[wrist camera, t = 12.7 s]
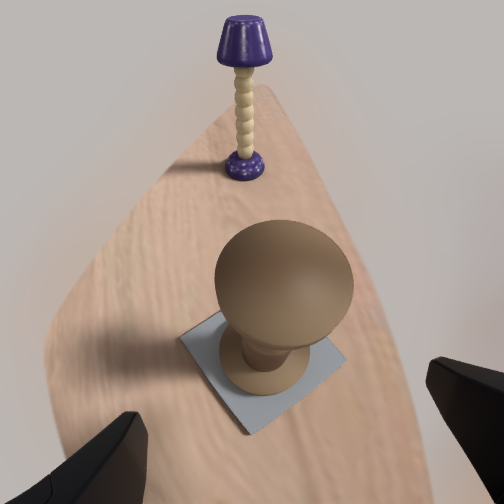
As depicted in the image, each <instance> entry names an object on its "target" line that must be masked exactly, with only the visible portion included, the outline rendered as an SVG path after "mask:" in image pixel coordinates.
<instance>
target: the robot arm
mask: <svg viewBox="0 0 504 504" xmlns="http://www.w3.org/2000/svg"><path fill="white" fill-rule="evenodd" d="M426 386H427V388H428V390H429V392H430V394H431V396H432V398H433V400H434V402H435V404H436V406H437V407H438V409H439V411H440V414H441V415H442V417H443V419H444V421H445V422H446V424H447V426H448V427H449V429H450V430H451V432H452V433H453V435H454V436H455V438H456V439H457V441H458V443H459V444H460V446H461V447H462V449H463V451H464V452H465V454H466V455H467V457H468V459H469V460H470V462H471V464H472V465H473V467H474V469H475V470H476V472H477V474H478V475H479V477H480V479H481V480H482V482H483V484H484V485H485V487H486V489H487V491H488V492H489V494H490V496H491V498H492V500H493V501H494V503H496V504H504V373H503V372H499V371H495V370H491V369H487V368H483V367H479V366H475V365H471V364H468V363H464V362H460V361H456V360H453V359H449V358H446V357H438V358H435V359H433V360H431V361H430V363H429V367H428V372H427V376H426ZM147 448H148V433H147V430H146V427H145V425H144V423H143V421H142V418H141V416H140V414H139V413H138V412H135V411H126V412H124V413H122V414H121V415H120V416H119V417H118V418H116V419H115V420H114V421H113V422H112V423H111V424H109V425H108V426H107V427H106V428H105V429H103V430H102V431H101V432H100V433H99V434H97V435H96V436H95V437H94V438H93V439H91V440H90V441H89V442H88V443H87V444H85V445H84V446H83V447H82V448H81V449H79V450H78V451H77V452H76V453H75V454H73V455H72V456H71V457H70V458H68V459H67V460H66V461H65V462H63V463H62V464H61V465H60V466H58V467H57V468H56V469H55V470H53V471H52V472H51V473H50V474H48V475H47V476H46V477H44V478H43V479H42V480H41V481H40V482H38V483H37V484H35V485H34V486H32V487H31V488H30V489H28V490H27V491H25V492H23V493H22V494H20V495H19V496H17V497H16V498H14V499H12V500H10V501H8V502H7V503H5V504H142V503H143V496H144V490H145V483H146V472H147Z"/></svg>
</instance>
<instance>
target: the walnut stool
mask: <svg viewBox="0 0 504 504" xmlns="http://www.w3.org/2000/svg"><path fill="white" fill-rule="evenodd" d="M215 289H216V295H217V299H218V304H219V307H220V309H221V312H222V314H223V315H224V317H225V319H226V320H227V322H228V323H229V325H228V326H227V327H226V329H225V330H224V332H223V334H222V337H221V340H220V345H219V357H220V361H221V365H222V368H223V370H224V372H225V374H226V376H227V377H228V378H229V380H230V381H231V382H232V383H233V384H234V385H235V386H237V387H238V388H239V389H241V390H243V391H245V392H247V393H250V394H253V395H259V396H269V395H275V394H278V393H281V392H283V391H285V390H287V389H289V388H290V387H291V386H293V385H294V384H295V383H296V382H297V381H298V380H299V379H300V378H301V377H302V376H303V374H304V372H305V371H306V369H307V366H308V363H309V359H310V346H311V345H313V344H315V343H317V342H319V341H321V340H322V339H324V338H325V337H326V336H327V335H329V334H330V333H331V332H332V331H333V330H334V328H335V327H336V326H337V325H338V324H339V323H340V322H341V320H342V319H343V318H344V316H345V315H346V313H347V311H348V309H349V307H350V304H351V301H352V297H353V290H354V283H353V275H352V271H351V267H350V264H349V262H348V260H347V258H346V256H345V255H344V253H343V251H342V250H341V249H340V248H339V246H338V245H337V244H336V243H335V242H334V241H333V240H332V239H331V238H330V237H328V236H327V235H326V234H324V233H323V232H321V231H319V230H318V229H316V228H314V227H312V226H309V225H306V224H304V223H300V222H296V221H289V220H271V221H265V222H261V223H257V224H254V225H252V226H250V227H247V228H246V229H244V230H242V231H240V232H239V233H238V234H236V235H235V236H234V237H233V238H232V239H231V240H230V241H229V242H228V243H227V244H226V246H225V247H224V249H223V250H222V252H221V254H220V256H219V258H218V261H217V264H216V268H215Z"/></svg>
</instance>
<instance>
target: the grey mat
mask: <svg viewBox="0 0 504 504" xmlns="http://www.w3.org/2000/svg"><path fill="white" fill-rule="evenodd" d="M228 325H229V323H228V322H227V320H226V319H225V317H224V315H223V314H222V312H221V311H220V312H218V313H217V314H215V315H214V316H212V317H211V318H209V319H208V320H206V321H205V322H203V323H201V324H200V325H198V326H197V327H195V328H194V329H192V330H190V331H189V332H187V333H186V334H184V335H183V336H181V337H180V339H181V340H182V342H183V343H184V345H185V346H186V348H187V349H188V351H189V352H190V354H191V355H192V357H193V358H194V360H195V361H196V362H197V364H198V365H199V367H200V368H201V370H202V371H203V373H204V374H205V375H206V377H207V378H208V380H209V381H210V382H211V384H212V385H213V386H214V388H215V389H216V391H217V392H218V393H219V395H220V396H221V397H222V399H223V400H224V401H225V403H226V404H227V405H228V407H229V408H230V409H231V410H232V412H233V413H234V414H235V416H236V417H237V418H238V419H239V421H240V422H241V423H242V425H243V426H244V427H245V428H246V429H247V431H248V432H249V433H250V434H251V435H253V434H254V433H256V432H257V431H259V430H260V429H262V428H263V427H264V426H266V425H267V424H269V423H270V422H271V421H273V420H274V419H276V418H277V417H278V416H280V415H281V414H282V413H284V412H285V411H286V410H288V409H289V408H290V407H292V406H293V405H294V404H296V403H297V402H298V401H299V400H301V399H302V398H303V397H304V396H306V395H307V394H308V393H309V392H311V391H312V390H313V389H314V388H316V387H317V386H318V385H319V384H320V383H322V382H323V381H324V380H325V379H326V378H328V377H329V376H330V375H331V374H332V373H333V372H334V371H336V370H337V369H338V368H339V367H340V366H341V365H342V364H344V363H345V362H346V361H347V359H346V358H345V357H344V355H343V354H342V353H341V352H340V351H339V350H338V349H337V347H336V346H335V345H334V344H333V343H332V342H331V340H330V339H329V338H328V337H327V336H326V337H325V338H324V339H322V340H321V341H319V342H317V343H315V344H313V345H311V346H310V359H309V363H308V366H307V369H306V371H305V372H304V374H303V376H302V377H301V378H300V379H299V380H298V381H297V382H296V383H295V384H294V385H293V386H291V387H290V388H289V389H287V390H285V391H283V392H281V393H278V394H275V395H269V396H259V395H253V394H250V393H247V392H245V391H243V390H241V389H239V388H238V387H237V386H235V385H234V384H233V383H232V382H231V381H230V380H229V378H228V377H227V376H226V374H225V372H224V370H223V368H222V365H221V361H220V357H219V345H220V340H221V337H222V334H223V332H224V330H225V329H226V327H227V326H228Z"/></svg>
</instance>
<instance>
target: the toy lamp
mask: <svg viewBox="0 0 504 504" xmlns="http://www.w3.org/2000/svg"><path fill="white" fill-rule="evenodd" d="M272 58H273V55H272V50H271V46H270V42H269V38H268V34H267V31H266V27H265V24H264V21H263V19H262V18H261V17H258V16H253V15H237V16H231V17H229V18H227V19H226V21H225V23H224V27H223V31H222V35H221V39H220V43H219V47H218V51H217V60H218V62H219V63H220V64H222V65H226V66H229V67H234V72H235V74H236V77H235V80H234V85H235V88H236V93H235V102H236V104H237V105H236V107H235V115H236V117H237V120H236V129H237V131H238V132H237V135H236V138H237V142H238V146H237V151H235V152H233V153H232V154H231V155H230V156H229V157H228V159H227V161H226V166H225V169H226V172H227V173H228V175H229V176H231V177H232V178H234V179H237V180H251V179H255V178H257V177H259V176H260V175H261V174H262V173H263V171H264V167H265V166H264V161H263V159H262V157H261V156H260V155H259V154H258V153H257V152H255V151H254V147H253V144H252V142H253V139H254V135H253V132H252V130H253V127H254V122H253V119H252V117H253V113H254V110H253V106H252V103H253V98H254V96H253V92H252V89H253V85H254V79H253V77H252V74H253V72H254V67H258V66H262V65H265V64H268V63H269V62H270V61H271V60H272Z"/></svg>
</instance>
